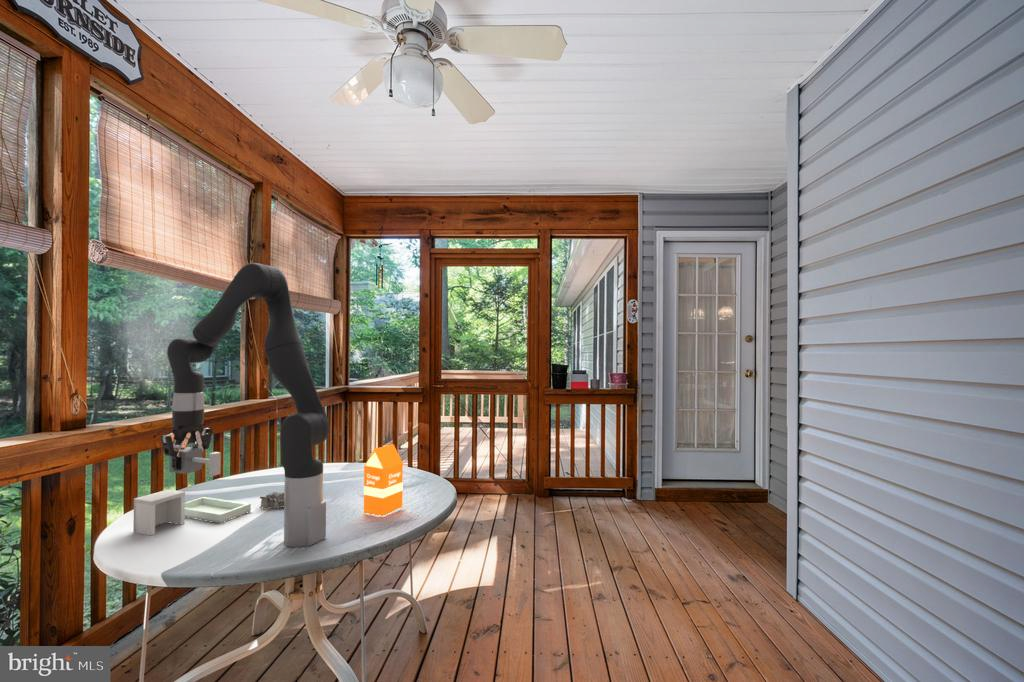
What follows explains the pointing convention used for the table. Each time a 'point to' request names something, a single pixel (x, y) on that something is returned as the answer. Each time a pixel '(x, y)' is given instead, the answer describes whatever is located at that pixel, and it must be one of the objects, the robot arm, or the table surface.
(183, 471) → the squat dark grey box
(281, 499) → the egg carton
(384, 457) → the orange juice
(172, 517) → the bay
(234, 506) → the tray
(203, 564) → the table surface
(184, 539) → the table surface
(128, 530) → the table surface
